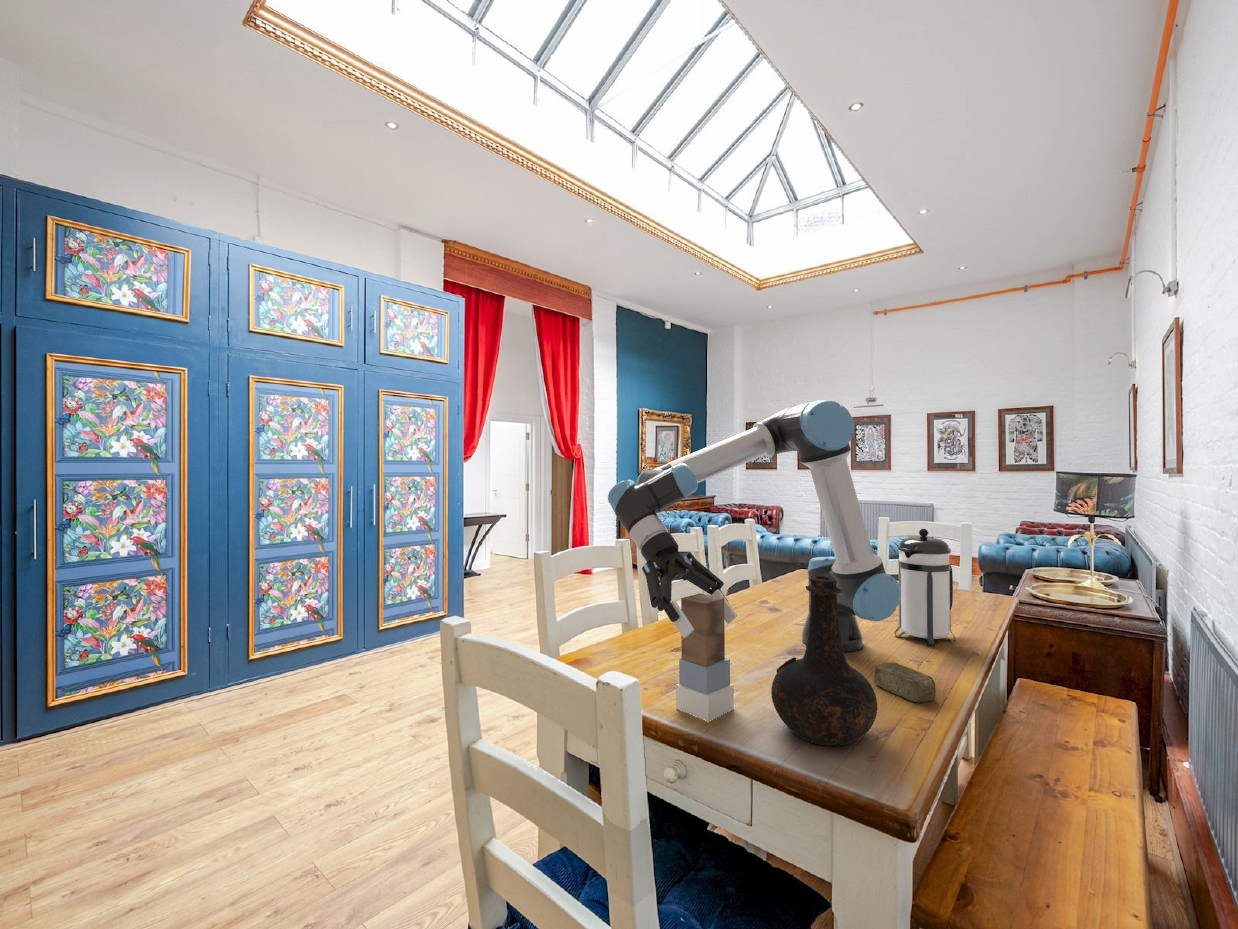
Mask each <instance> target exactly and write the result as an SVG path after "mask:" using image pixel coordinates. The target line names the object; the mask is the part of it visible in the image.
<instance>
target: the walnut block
mask: <svg viewBox="0 0 1238 929" xmlns="http://www.w3.org/2000/svg"><path fill="white" fill-rule="evenodd" d="M680 608H681V610H682V612H683V613H684V615H685V616H686V618H687V619H688V621H689V622H690V624H691V625H692V627H693V628H694V631H693V632H692V633H691V634H690V635H689V636H688V637H687V638H683V637H682V635H681V636H680V637H681V638H680V639H681V640H680V641H681V643H680V644H681V648H680V649H681V652H680V653H681V654H680V655H681V658H682V660H685V661H689V662H692V663H695V664H698V665H701V666H705V667H707V666H710V665H712V664H714V663H717V662H719V661H722V660H724V659H725V658H726V654H725V653H726V651H725V650H726V647H725V646H726V643H725V642H726V641H725V640H726V639H725V638H726V637H725V634H726V632H725V630H726V629H725V628H726V627H725V625H726V624H725V619H724V598H721V597H716V596H711V595H710V594H706V593H695V594H693V595H687V596H684V597H681V599H680Z"/></svg>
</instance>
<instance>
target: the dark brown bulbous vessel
mask: <svg viewBox="0 0 1238 929" xmlns="http://www.w3.org/2000/svg"><path fill="white" fill-rule="evenodd" d="M810 582H811V585H809V584H808V585H806V586H805V590H807V591H808V592H809V591H810V592H811V604H810V621H809V632H808V640H807V644H806V647H805V650H804V651H805V652H804V655H803V657H802V658H799V659H798V658H797V657H794V656H793V657H791V658H790V659H788V660H786V661H784V663H782V664H781V665H780V666H779V667H778V668H776V674H775V676H774V678H773V680H772V684H771V701H772V704H773V708H774V709H775V711H776V713H777V715H778V716H779V718H780V719H781V721H782V722H783V724H784V725H785V726H786V727H787V728H788V729H789V730H790V731H791V732H792V733H794V734H795V736H797V737H799V738H800V739H802V740H805V741H806V742H808V743H811V744H815V745H819V746H820V745H821V746H826V747H827V746H828V747H837V746H845V745H847V744H851V743H855V742H856V741H858V740H859V739H861V738H862V737H864V736H865V735H866V734H867V733H868V732H869V731H870V729H871V728H872V727H873V725H874V723H875V721H876V719H877V714H878V699H877V695H876V692H875V690H874V688H873V686H872V684H871V683H870V682H869V680H868V679H867V678H866V677H865V676H864V675H863V674H862V673H861V672H860V671H858V670H857V669H855V667H853V666H851V665H849V663H848V661H847V659H846V656H845V652H843V648H842V642H841V637H840V629H839V620H838V608H837V594H839V593H841V592H842V589H840V588H837V587H836V584H837V580H835V579H833V578H830V577H825V576H814V577H810Z"/></svg>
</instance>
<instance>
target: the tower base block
mask: <svg viewBox="0 0 1238 929" xmlns="http://www.w3.org/2000/svg"><path fill="white" fill-rule="evenodd" d="M734 689H735V685H734V684H733V683H730V685H729V686H727V687H724V688H722V689H720V690H717V691H715V692H712V693H710V694H708V695H706V694H703V693H701V692H698V691H696V690H693V689H691V688H688V687H686V686H683V685H681V684H679V683H677V684H675V709H676V708H678V709H679V710H682V711H683V712H682V711H681V712H682V713H684V712H687V713H689V714H691V715H695V716H697V717H699V718H701V719H705V720H706V721H708V722H709V721H710V720H712V719H715V718H716V719H718V718H720V717H722V716H724V715H726V714H727V713H726V712H728V713H731V710H732V711H734V709H735V707H734V706H735V705H734V704H735V698H734V696H735V692H734V691H735V690H734ZM679 710H678V711H679ZM725 713H726V714H725ZM689 714H688V715H689ZM723 714H724V715H723ZM691 715H690V716H691ZM721 715H722V716H721ZM719 716H720V717H719ZM717 717H718V718H717ZM701 719H700V720H701ZM716 719H715V720H716ZM706 721H705V722H706ZM708 722H707V723H708ZM709 723H710V722H709Z"/></svg>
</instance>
